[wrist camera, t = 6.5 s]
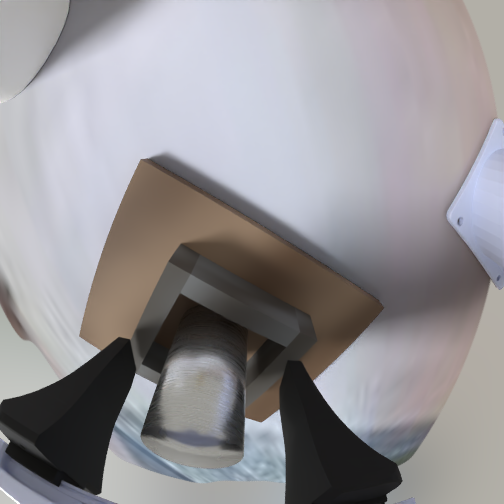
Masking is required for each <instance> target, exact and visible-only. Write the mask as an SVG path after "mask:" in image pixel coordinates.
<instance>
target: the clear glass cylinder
mask: <svg viewBox="0 0 504 504" xmlns="http://www.w3.org/2000/svg"><path fill="white" fill-rule="evenodd" d="M247 340H248V331H247V328H245V327H243V326H241V325H239V324H237V323H235V322H233V321H231V320H229V319H227V318H226V317H224V316H222V315H220V314H218V313H216V312H214V311H212V310H210V309H208V308H206V307H205V306H203V305H201V304H200V305H197V306H194V307H192V308H191V309H189V310H188V311H187V312H185V314H184V315H183V317H182V318H181V321H180V323H179V326H178V329H177V331H176V334H175V337H174V339H173V342H172V345H171V348H170V350H169V353H168V356H167V358H166V361H165V364H164V367H163V370H162V372H161V375H160V378H159V381H158V384H157V387H156V390H155V393H154V395H153V398H152V401H151V404H150V407H149V410H148V413H147V416H146V419H145V423H144V426H143V429H142V432H141V440H142V442H143V443H144V445H145V446H146V447H147V448H148V449H150V450H151V451H152V452H154V453H155V454H157V455H159V456H160V457H162V458H164V459H167V460H169V461H172V462H175V463H178V464H181V465H185V466H190V467H196V468H207V469H213V468H224V467H229V466H232V465H234V464H237V463H238V462H240V461H241V460H242V458H243V456H244V429H245V399H246V369H247Z"/></svg>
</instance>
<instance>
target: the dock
mask: <svg viewBox="0 0 504 504" xmlns="http://www.w3.org/2000/svg"><path fill="white" fill-rule="evenodd" d="M200 304H201V305H203V306H205V307H206V308H208V309H210V310H212V311H214V312H216V313H218V314H220V315H222V316H224V317H226V318H227V319H229V320H231V321H233V322H235V323H237V324H239V325H241V326H243V327H245V328H247V331H248V340H247V369H246V399H245V418H249V419H252V420H255V421H258V422H263V421H264V420H265V419H267V418H268V417H269V416H271V415H272V414H273V413H275V412H276V411H277V410H278V409H280V408H279V388H280V384H281V381H282V378H283V374H284V371H285V367H286V364H287V360H293V361H301V362H302V363H303V365H304V367H305V368H306V370H307V372H308V374H309V376H310V377H311V379H312V381H313V380H314V379H315V378H316V377H317V376H318V375H320V374H321V373H322V372H323V371H324V370H325V369H326V368H327V367H328V366H329V365H330V364H331V363H332V362H333V361H334V360H336V359H337V358H338V357H339V356H340V355H341V354H342V353H343V352H344V351H345V350H346V349H347V348H348V347H349V346H350V345H351V344H352V343H353V342H354V341H355V339H356V338H357V337H358V336H359V335H360V334H361V333H362V332H363V331H364V330H365V329H366V328H367V327H368V326H369V325H370V323H371V322H372V321H373V320H374V319H375V318H376V317H377V316H378V315H379V313H380V312H381V311H382V310H383V309H384V307H383V306H382V304H381V303H380V301H379V300H377V299H376V298H374V297H373V296H371V295H370V294H368V293H367V292H365V291H364V290H362V289H361V288H359V287H358V286H356V285H355V284H353V283H352V282H350V281H349V280H347V279H346V278H344V277H343V276H341V275H339V274H338V273H336V272H335V271H333V270H332V269H330V268H329V267H327V266H325V265H324V264H322V263H321V262H319V261H318V260H316V259H315V258H313V257H311V256H310V255H308V254H307V253H305V252H303V251H302V250H300V249H299V248H297V247H296V246H294V245H292V244H291V243H289V242H288V241H286V240H284V239H283V238H281V237H280V236H278V235H276V234H275V233H273V232H271V231H270V230H268V229H267V228H265V227H263V226H262V225H260V224H258V223H257V222H255V221H254V220H252V219H250V218H249V217H247V216H245V215H244V214H242V213H240V212H239V211H237V210H235V209H234V208H232V207H230V206H229V205H227V204H225V203H224V202H222V201H220V200H219V199H217V198H215V197H214V196H212V195H210V194H208V193H207V192H205V191H203V190H202V189H200V188H198V187H197V186H195V185H193V184H191V183H190V182H188V181H186V180H184V179H183V178H181V177H179V176H178V175H176V174H174V173H172V172H171V171H169V170H167V169H165V168H164V167H162V166H160V165H158V164H156V163H155V162H153V161H151V160H149V159H148V158H147V159H141V160H140V162H139V164H138V166H137V168H136V170H135V172H134V175H133V177H132V179H131V181H130V183H129V185H128V188H127V190H126V192H125V194H124V197H123V199H122V201H121V204H120V206H119V209H118V211H117V214H116V216H115V219H114V221H113V224H112V226H111V229H110V232H109V234H108V237H107V240H106V243H105V246H104V248H103V251H102V254H101V257H100V260H99V263H98V267H97V270H96V273H95V276H94V280H93V283H92V286H91V290H90V294H89V297H88V301H87V305H86V309H85V313H84V317H83V321H82V326H81V330H80V335H79V337H81V338H82V339H84V340H85V341H87V342H89V343H90V344H92V345H93V346H95V347H96V348H98V349H99V350H101V351H102V350H103V349H104V348H105V347H107V346H108V345H109V344H110V343H112V342H113V341H114V340H115V339H117V338H118V337H122V338H127V339H130V341H131V346H132V351H133V356H134V361H135V365H136V372H135V373H136V374H138V375H140V376H142V377H144V378H146V379H148V380H150V381H152V382H154V383H156V384H158V381H159V378H160V375H161V372H162V370H163V367H164V364H165V361H166V358H167V356H168V353H169V350H170V348H171V345H172V342H173V339H174V337H175V334H176V331H177V329H178V326H179V323H180V321H181V318H182V317H183V315H184V314H185V312H187V311H188V310H189V309H191V308H192V307H194V306H197V305H200Z"/></svg>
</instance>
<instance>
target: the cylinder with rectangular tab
mask: <svg viewBox="0 0 504 504" xmlns="http://www.w3.org/2000/svg"><path fill="white" fill-rule="evenodd" d="M69 2H70V0H0V103H4V102H6V101H8V100H10V99H13V98H14V97H15V96H16V95H18V94H19V93H20V92H21V91H22V90H24V88H25V87H26V86H27V85H28V84H29V83H30V82H31V80H32V79H33V78H34V77H35V76H36V74H37V73H38V71H39V70H40V68H41V67H42V66H43V64H44V63H45V62H46V60H47V58H48V56H49V55H50V53H51V51H52V49H53V48H54V46H55V44H56V42H57V40H58V38H59V36H60V33H61V31H62V29H63V27H64V24H65V21H66V18H67V15H68V11H69Z"/></svg>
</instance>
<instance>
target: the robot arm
mask: <svg viewBox="0 0 504 504" xmlns="http://www.w3.org/2000/svg"><path fill="white" fill-rule="evenodd" d="M458 219H459V222H458V223H457V221H458ZM447 220H448V222H449V223H450V224H451V225H452V227H453V228H454V229H455V230H456V231H457V233H458V234H459V235H460V237H461V238H462V239H463V240H464V242H465V243H466V244H467V246H468V247H469V248H470V250H471V251H472V252H473V254H474V255H475V256H476V258H477V259H478V261H479V262H480V263H481V265H482V266H483V268H484V269H485V271H486V272H487V274H488V275H489V277H490V278H491V280H492V281H493V283H494V285H495V286H496V287H497V288H498V289H499V290H500V289H502V288H503V287H504V123H503V121H502V120H501V119H499V118H496V119H494V120H493V123H492V125H491V128H490V130H489V132H488V135H487V137H486V139H485V141H484V144H483V146H482V148H481V150H480V152H479V154H478V156H477V158H476V160H475V162H474V164H473V166H472V168H471V170H470V172H469V174H468V176H467V178H466V180H465V182H464V183H463V185H462V187H461V189H460V191H459V192H458V194H457V196H456V197H455V199H454V201H453V203H452V204H451V206H450V208H449V209H448V211H447ZM135 372H136V365H135V361H134V356H133V351H132V346H131V341H130V339H127V338H122V337H118V338H117V339H115V340H114V341H113V342H112V343H110V344H109V345H108V346H107V347H105V348H104V349H103V350H102V351H101V352H99V353H98V354H97V355H96V356H94V357H93V358H92V359H90V360H89V361H88V362H87V363H85V364H84V365H82V366H81V367H80V368H78V369H77V370H75V371H74V372H72V373H71V374H69V375H68V376H66V377H64V378H63V379H61V380H59V381H57V382H55V383H53V384H51V385H49V386H47V387H45V388H42V389H40V390H38V391H35V392H32V393H29V394H26V395H23V396H20V397H15V398H11V399H6V400H3V401H2V403H1V404H0V430H1V431H2V432H3V434H4V435H5V436H6V437H7V438H8V439H9V440H10V443H9V445H8V444H7V443H6V442H4V441H3V440H2V439H1V438H0V489H1V490H2V491H3V492H5V493H6V494H7V495H8V496H9V497H11V498H12V499H13V500H14V501H16V502H17V503H18V504H117V503H114V502H111V501H109V500H106V499H103V498H101V497H98V496H96V495H98V494H100V493H101V489H102V480H103V479H102V478H103V471H104V466H105V460H106V455H107V451H108V446H109V442H110V438H111V435H112V431H113V428H114V425H115V422H116V420H117V418H118V415H119V413H120V411H121V409H122V406H123V404H124V402H125V400H126V397H127V395H128V393H129V391H130V388H131V386H132V382H133V379H134V376H135ZM279 408H280V415H281V423H282V430H283V437H284V444H285V454H286V491H285V504H385V503H384V502H386V501H387V497H386V494H388V493H389V492H390V491H392V490H394V489H395V488H397V487H398V486H399V485H400V484H401V482H402V478H401V474H400V471H399V469H398V466H397V464H396V463H394V462H393V461H391V460H389V459H388V458H386V457H384V456H382V455H381V454H379V453H378V452H376V451H375V450H374V449H372V448H371V447H369V446H368V445H367V444H366V443H364V442H363V441H362V440H361V439H360V438H359V437H357V436H356V435H355V434H354V433H353V432H352V431H351V430H350V429H349V428H348V427H347V426H346V425H345V424H344V423H343V422H342V421H341V420H340V419H339V417H338V416H337V415H336V414H335V413H334V411H333V410H332V409H331V407H330V406H329V405H328V403H327V402H326V401H325V399H324V398H323V396H322V395H321V393H320V392H319V390H318V389H317V387H316V386H315V384H314V382H313V381H312V379H311V377H310V376H309V374H308V372H307V370H306V368H305V367H304V365H303V363H302V362H301V361H293V360H287V364H286V367H285V371H284V374H283V378H282V381H281V384H280V388H279ZM79 488H80V489H79ZM88 492H89V493H88ZM395 504H416V503H415V499H414V498H410V499H407V500H404V501H401V502H398V503H395Z"/></svg>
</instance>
